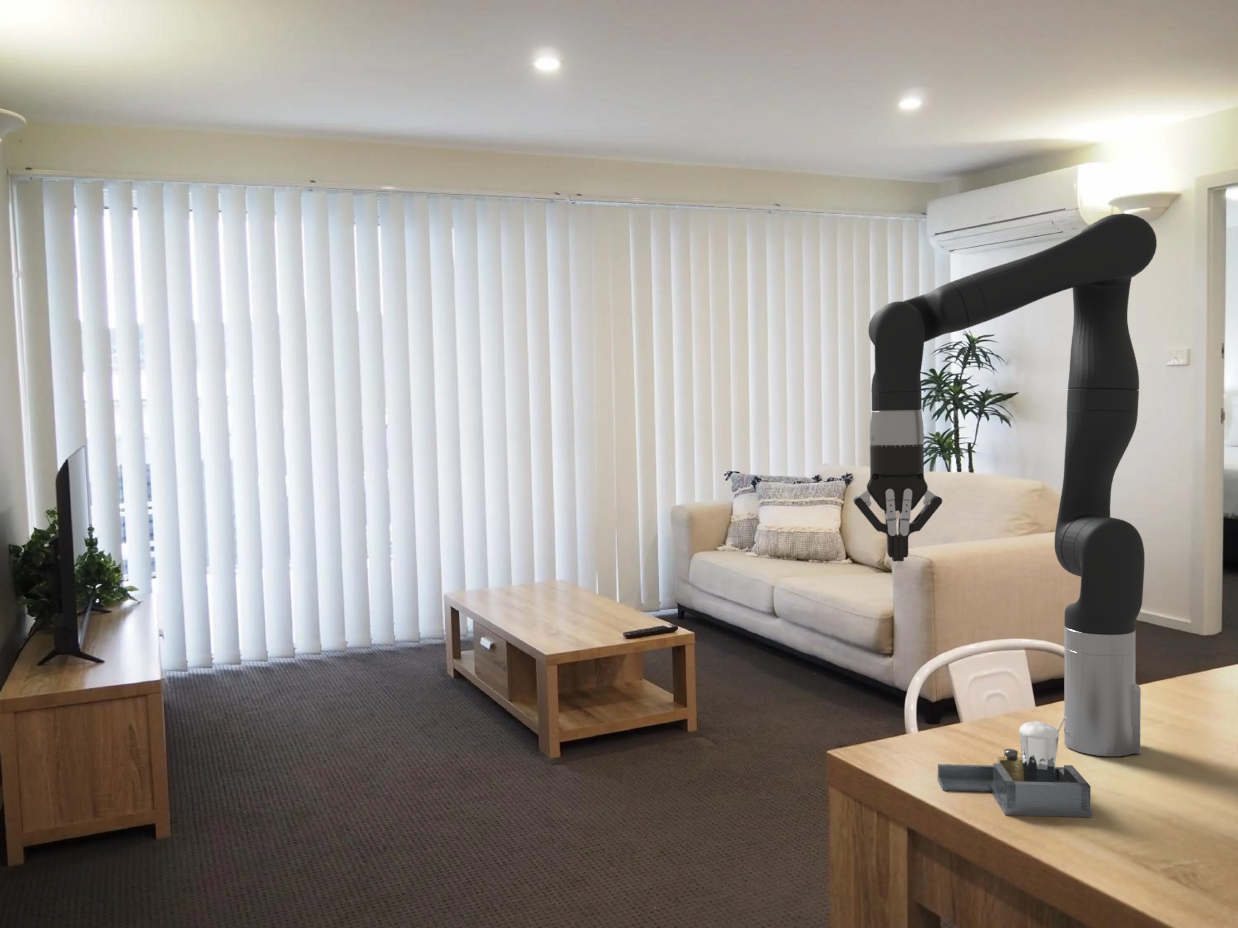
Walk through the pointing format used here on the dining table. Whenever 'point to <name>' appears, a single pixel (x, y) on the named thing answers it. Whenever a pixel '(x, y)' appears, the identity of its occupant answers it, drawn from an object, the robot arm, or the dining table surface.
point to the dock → (1022, 790)
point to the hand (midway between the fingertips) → (897, 560)
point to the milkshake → (1039, 751)
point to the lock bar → (1012, 764)
